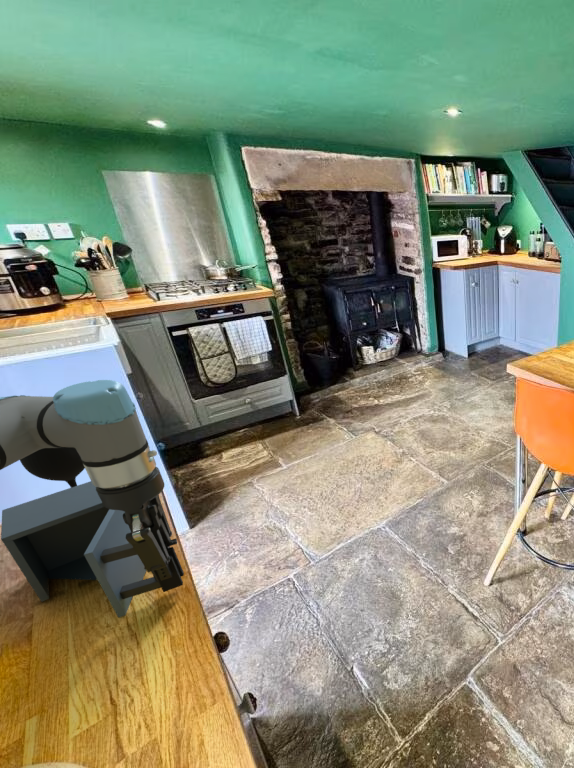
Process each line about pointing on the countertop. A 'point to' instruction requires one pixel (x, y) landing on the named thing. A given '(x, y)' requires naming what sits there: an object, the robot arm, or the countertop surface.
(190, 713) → the countertop surface
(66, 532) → the cupboard
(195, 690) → the countertop surface
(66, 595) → the countertop surface
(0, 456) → the robot arm
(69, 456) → the wine glass
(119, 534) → the cupboard door
